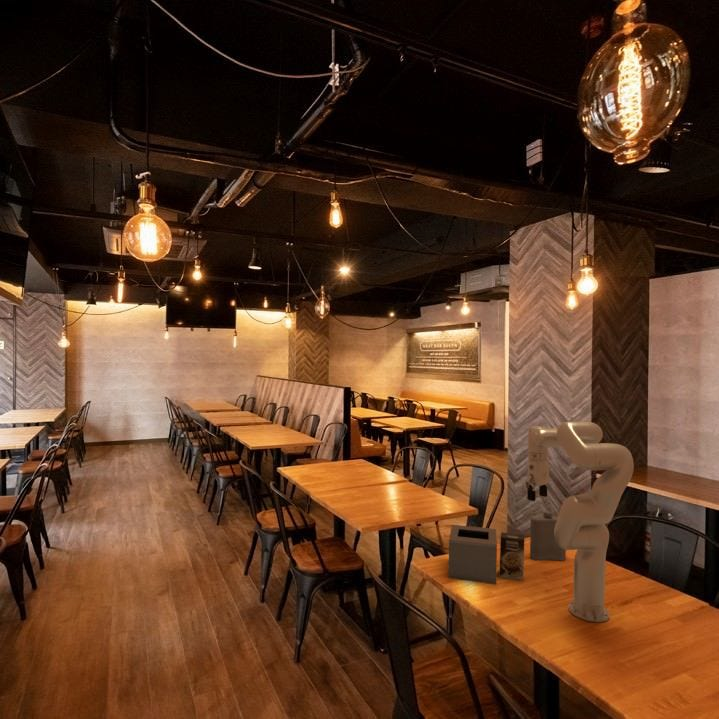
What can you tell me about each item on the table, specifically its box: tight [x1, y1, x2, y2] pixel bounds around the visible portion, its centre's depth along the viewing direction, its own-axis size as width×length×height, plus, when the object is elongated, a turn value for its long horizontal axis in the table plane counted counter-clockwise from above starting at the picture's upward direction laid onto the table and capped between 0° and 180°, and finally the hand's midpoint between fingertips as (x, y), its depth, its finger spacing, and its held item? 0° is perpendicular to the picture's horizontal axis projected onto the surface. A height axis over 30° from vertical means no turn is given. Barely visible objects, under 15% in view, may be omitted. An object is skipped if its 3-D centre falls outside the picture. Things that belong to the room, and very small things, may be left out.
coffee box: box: [498, 531, 525, 582], centre depth 193 cm, size 9×6×16 cm
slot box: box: [448, 524, 498, 585], centre depth 196 cm, size 18×18×15 cm
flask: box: [529, 510, 567, 562], centre depth 211 cm, size 15×6×20 cm, turn 90°
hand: (537, 498), depth 199 cm, fingers open, 9 cm apart
